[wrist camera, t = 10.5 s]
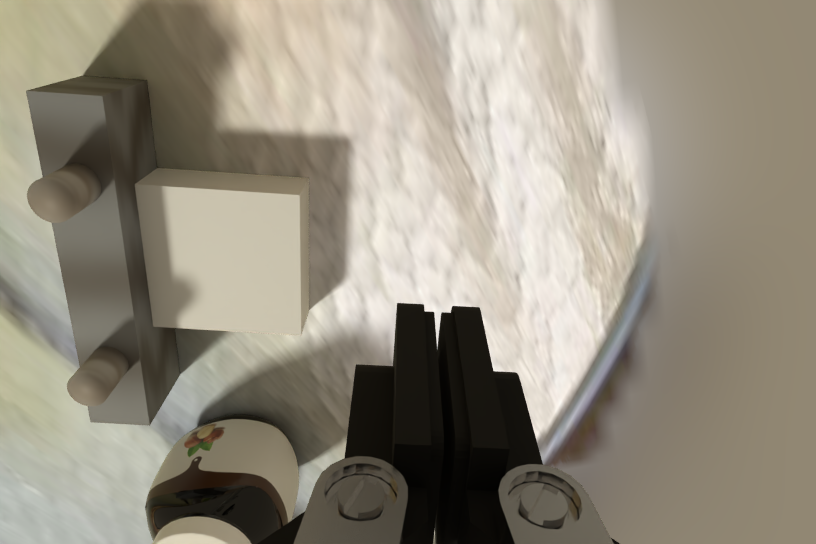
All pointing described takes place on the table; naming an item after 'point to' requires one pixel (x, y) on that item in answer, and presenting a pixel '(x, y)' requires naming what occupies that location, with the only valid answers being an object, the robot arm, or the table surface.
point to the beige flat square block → (226, 250)
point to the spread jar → (224, 484)
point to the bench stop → (103, 241)
